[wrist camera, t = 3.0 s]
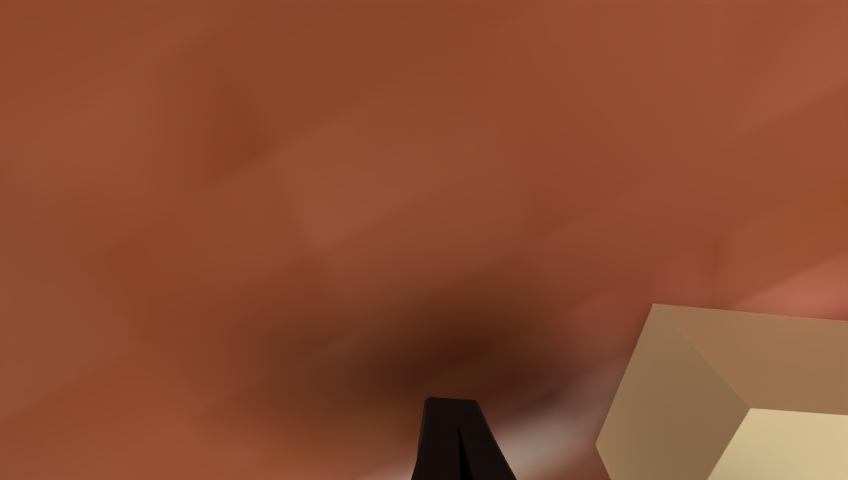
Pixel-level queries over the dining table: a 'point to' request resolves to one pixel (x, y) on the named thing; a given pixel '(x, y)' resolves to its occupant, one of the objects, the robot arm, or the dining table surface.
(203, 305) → the dining table surface
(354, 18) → the dining table surface
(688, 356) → the block
